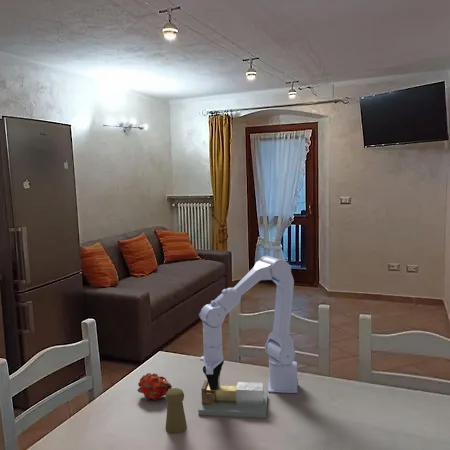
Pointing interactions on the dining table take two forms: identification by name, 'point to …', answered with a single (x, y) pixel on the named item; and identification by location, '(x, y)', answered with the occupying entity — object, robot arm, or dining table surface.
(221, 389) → the brushed brass bar
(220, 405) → the slate board
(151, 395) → the dragon fruit
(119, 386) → the dining table surface
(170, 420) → the olive green pawn
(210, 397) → the walnut socket
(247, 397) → the aluminium sleeve
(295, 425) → the dining table surface
